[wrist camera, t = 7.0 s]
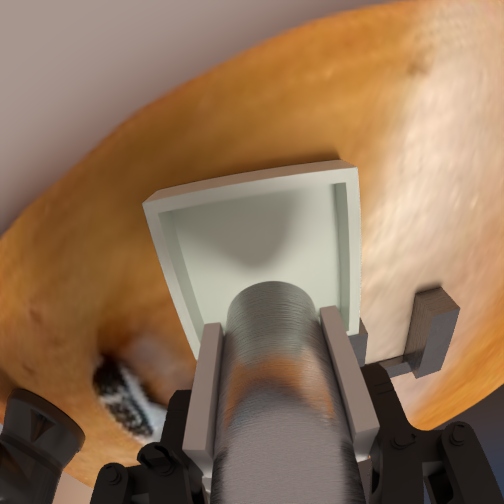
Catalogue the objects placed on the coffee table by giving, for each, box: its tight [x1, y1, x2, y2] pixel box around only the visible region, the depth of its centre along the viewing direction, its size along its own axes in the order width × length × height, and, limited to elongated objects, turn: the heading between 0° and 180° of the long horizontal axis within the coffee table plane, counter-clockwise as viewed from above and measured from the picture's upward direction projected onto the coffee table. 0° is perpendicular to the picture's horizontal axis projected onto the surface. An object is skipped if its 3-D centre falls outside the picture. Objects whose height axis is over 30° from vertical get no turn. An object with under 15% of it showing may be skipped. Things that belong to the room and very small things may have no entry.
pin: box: [210, 281, 366, 504], centre depth 10 cm, size 5×5×12 cm
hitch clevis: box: [348, 287, 460, 379], centre depth 24 cm, size 12×10×4 cm
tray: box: [142, 159, 361, 360], centre depth 20 cm, size 13×13×3 cm
